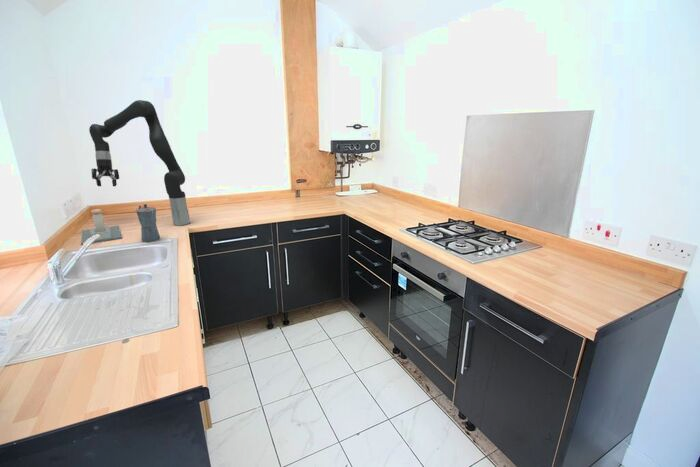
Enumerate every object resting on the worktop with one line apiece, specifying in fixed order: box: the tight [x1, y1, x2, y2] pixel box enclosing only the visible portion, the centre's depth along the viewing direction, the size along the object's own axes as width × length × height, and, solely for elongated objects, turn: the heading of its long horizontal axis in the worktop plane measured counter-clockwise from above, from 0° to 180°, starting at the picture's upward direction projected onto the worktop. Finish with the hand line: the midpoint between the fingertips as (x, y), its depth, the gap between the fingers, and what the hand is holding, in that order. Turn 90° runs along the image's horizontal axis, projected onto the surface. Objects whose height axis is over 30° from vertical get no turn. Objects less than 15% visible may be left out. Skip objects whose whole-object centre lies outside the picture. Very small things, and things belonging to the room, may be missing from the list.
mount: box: [89, 225, 112, 241], centre depth 186 cm, size 12×9×4 cm
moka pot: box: [135, 203, 161, 243], centre depth 183 cm, size 10×15×20 cm, turn 58°
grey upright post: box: [90, 208, 106, 232], centre depth 192 cm, size 5×5×13 cm
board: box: [80, 224, 123, 246], centre depth 193 cm, size 28×18×1 cm, turn 36°
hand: (107, 186), depth 205 cm, fingers open, 8 cm apart
